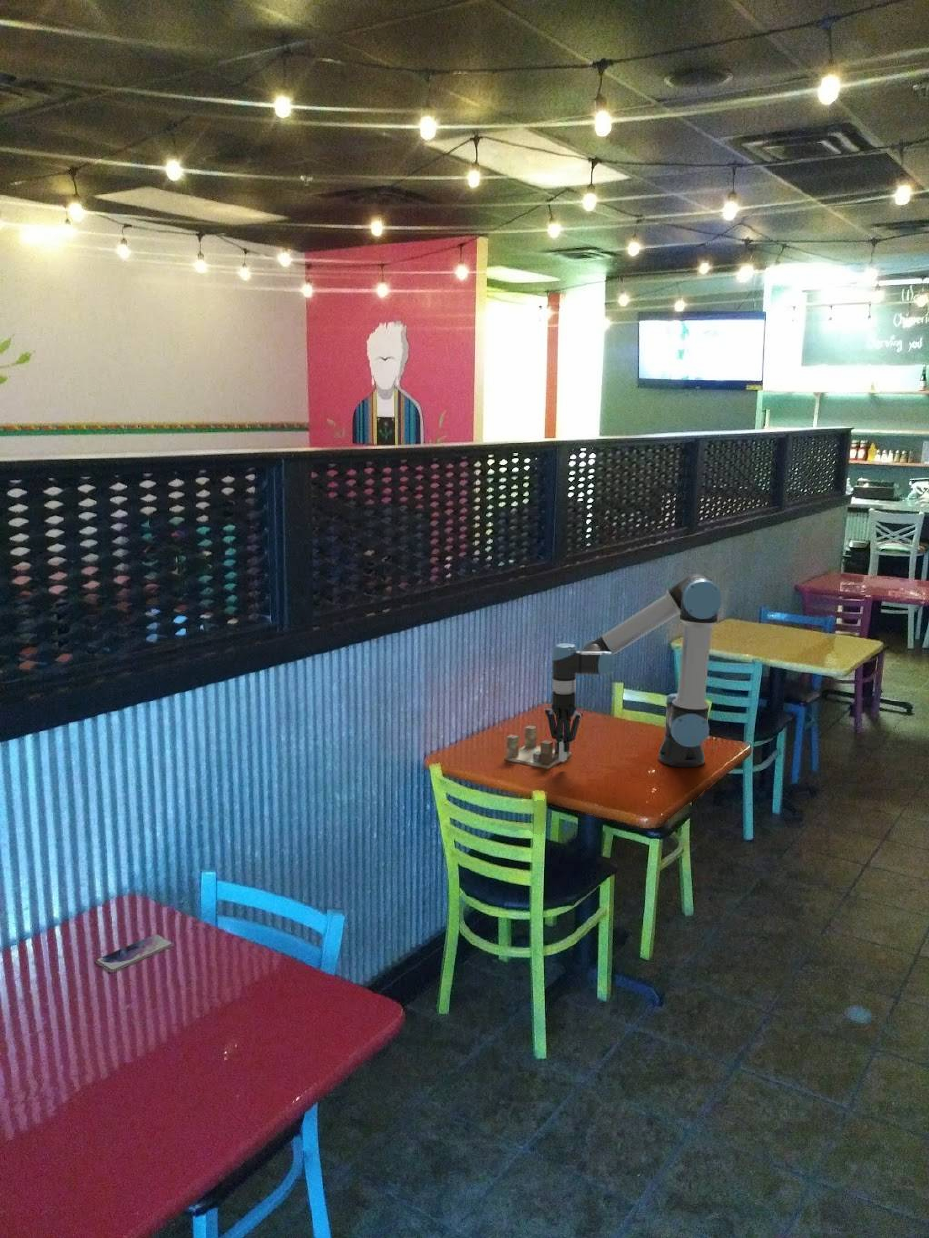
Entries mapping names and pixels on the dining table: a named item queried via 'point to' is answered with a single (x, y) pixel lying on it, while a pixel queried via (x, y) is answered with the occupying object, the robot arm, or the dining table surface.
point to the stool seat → (528, 750)
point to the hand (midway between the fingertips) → (562, 760)
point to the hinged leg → (548, 752)
